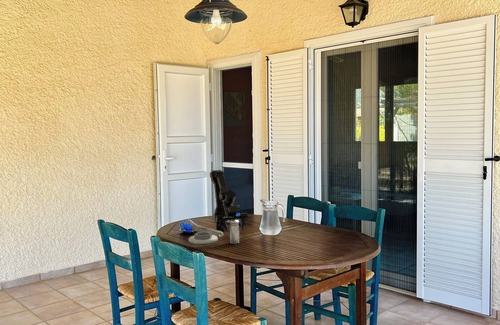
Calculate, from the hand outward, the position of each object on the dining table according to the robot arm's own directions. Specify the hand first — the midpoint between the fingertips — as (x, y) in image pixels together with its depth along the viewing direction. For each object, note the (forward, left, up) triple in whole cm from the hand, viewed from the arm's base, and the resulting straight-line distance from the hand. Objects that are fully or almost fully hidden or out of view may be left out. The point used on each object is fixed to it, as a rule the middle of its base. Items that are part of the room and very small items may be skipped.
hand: (234, 230), depth 263 cm
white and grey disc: (-4, -21, -7) cm, 22 cm away
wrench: (-20, -26, -8) cm, 33 cm away
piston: (-1, -1, -7) cm, 7 cm away
